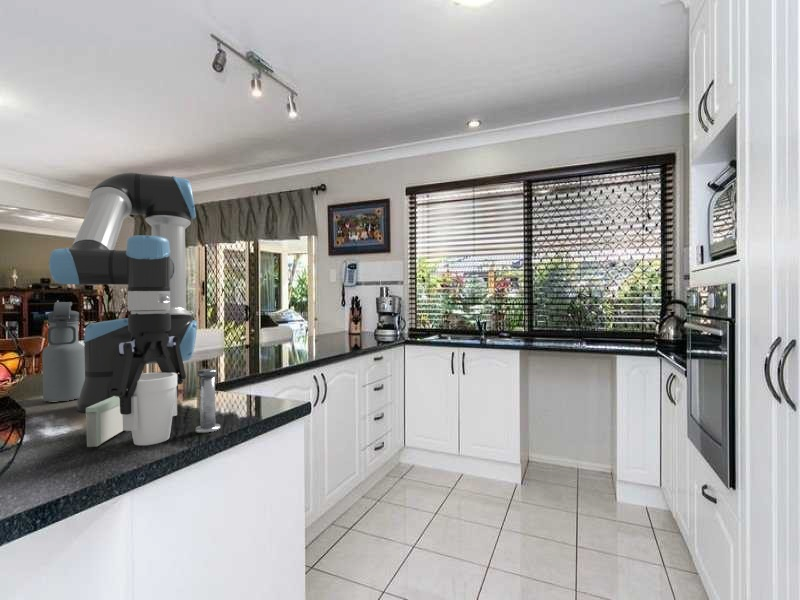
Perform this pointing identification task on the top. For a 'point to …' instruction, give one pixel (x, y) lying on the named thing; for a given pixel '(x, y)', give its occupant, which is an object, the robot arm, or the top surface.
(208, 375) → the post
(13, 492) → the top surface
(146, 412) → the foam cup
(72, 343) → the water bottle
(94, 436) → the gate
